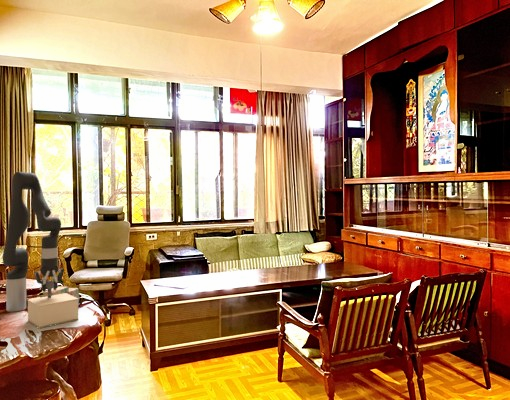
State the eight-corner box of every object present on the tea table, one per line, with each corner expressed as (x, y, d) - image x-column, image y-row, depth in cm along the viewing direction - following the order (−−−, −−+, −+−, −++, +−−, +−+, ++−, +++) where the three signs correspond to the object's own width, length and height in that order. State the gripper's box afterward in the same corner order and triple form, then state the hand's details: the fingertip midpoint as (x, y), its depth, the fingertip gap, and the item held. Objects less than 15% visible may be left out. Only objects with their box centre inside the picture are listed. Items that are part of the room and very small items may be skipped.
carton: (27, 320, 192) (27, 300, 192) (65, 313, 205) (65, 294, 205) (39, 328, 181) (39, 307, 181) (78, 319, 194) (78, 299, 194)
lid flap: (27, 300, 192) (27, 282, 192) (66, 294, 205) (66, 277, 205) (38, 307, 181) (38, 287, 181) (78, 299, 194) (78, 281, 194)
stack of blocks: (69, 303, 224) (69, 282, 224) (79, 304, 223) (79, 282, 222) (42, 314, 203) (42, 291, 202) (53, 315, 201) (53, 291, 201)
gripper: (61, 254, 204) (61, 286, 204) (31, 257, 194) (31, 291, 194) (67, 256, 199) (67, 289, 199) (36, 259, 188) (36, 294, 189)
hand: (49, 290), depth 196 cm, fingers closed on lid flap, 4 cm apart
